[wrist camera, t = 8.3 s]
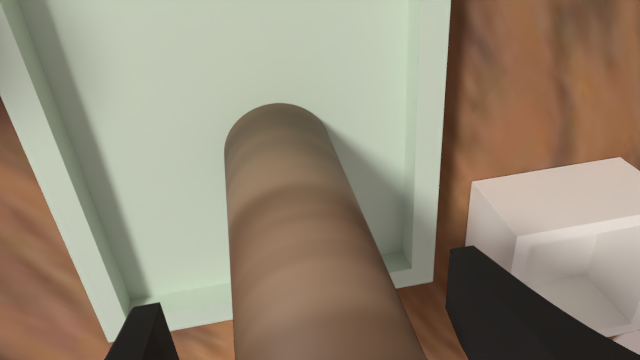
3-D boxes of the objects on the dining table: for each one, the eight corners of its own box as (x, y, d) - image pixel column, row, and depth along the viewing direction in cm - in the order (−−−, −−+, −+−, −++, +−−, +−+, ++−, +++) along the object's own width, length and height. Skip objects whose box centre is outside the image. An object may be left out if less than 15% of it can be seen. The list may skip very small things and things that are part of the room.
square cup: (587, 273, 27) (639, 330, 24) (459, 297, 27) (495, 360, 23) (620, 156, 24) (687, 205, 20) (471, 181, 23) (517, 236, 19)
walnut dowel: (334, 186, 21) (436, 449, 11) (235, 205, 20) (257, 493, 11) (324, 94, 18) (441, 327, 9) (213, 113, 18) (219, 377, 9)
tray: (417, 252, 24) (432, 281, 23) (115, 307, 23) (108, 342, 21) (440, -321, 14) (473, -347, 12) (-128, -295, 12) (-182, -320, 10)
